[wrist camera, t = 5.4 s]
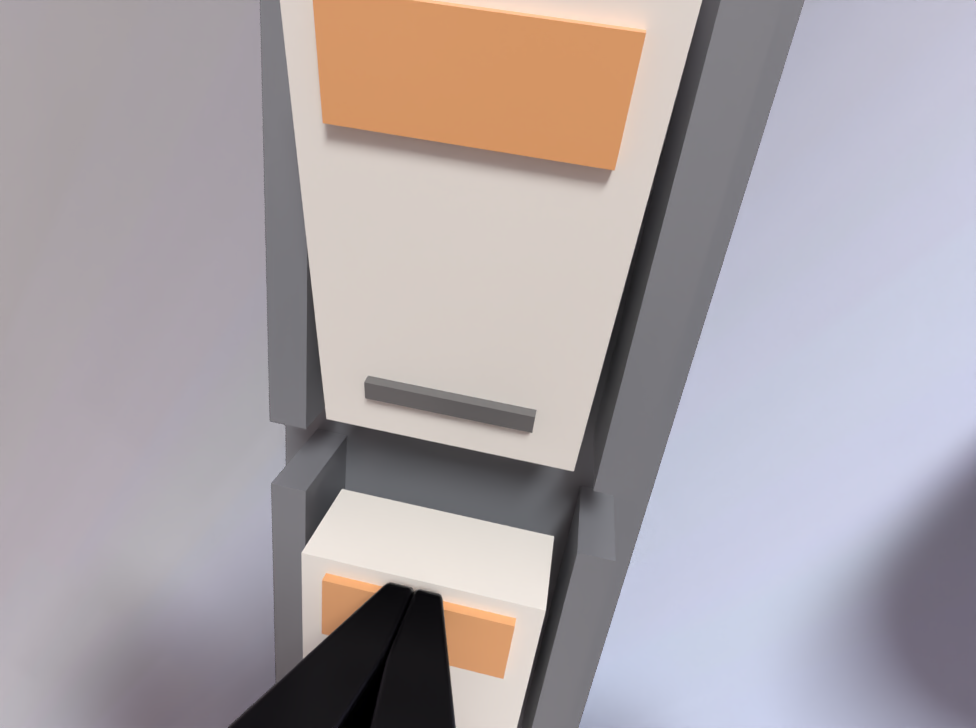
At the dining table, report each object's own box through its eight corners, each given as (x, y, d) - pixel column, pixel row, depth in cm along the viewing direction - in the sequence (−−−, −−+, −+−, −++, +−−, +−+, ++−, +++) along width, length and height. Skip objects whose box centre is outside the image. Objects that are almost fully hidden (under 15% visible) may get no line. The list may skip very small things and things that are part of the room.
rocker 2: (504, 745, 13) (490, 837, 11) (336, 701, 13) (301, 785, 12) (554, 536, 10) (545, 618, 9) (341, 488, 11) (297, 559, 9)
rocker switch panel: (510, 859, 23) (483, 1081, 18) (337, 811, 24) (263, 1011, 19) (769, -82, 10) (939, -258, 5) (383, -127, 11) (190, -324, 6)
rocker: (582, 400, 10) (572, 479, 9) (364, 356, 10) (322, 425, 9) (690, -25, 6) (704, -2, 5) (342, -71, 7) (264, -60, 5)
